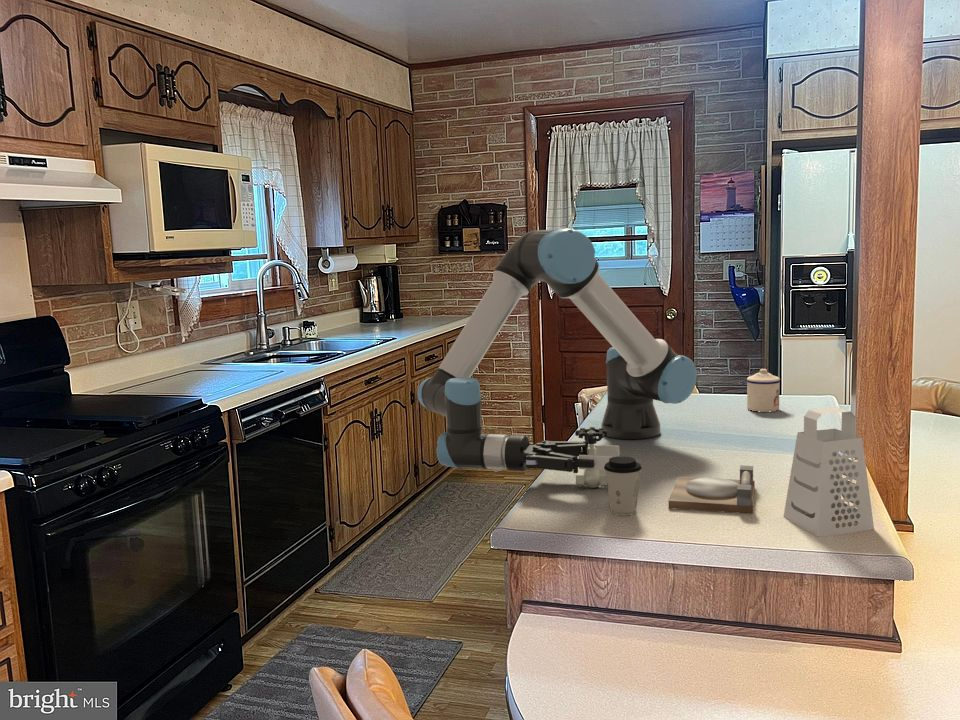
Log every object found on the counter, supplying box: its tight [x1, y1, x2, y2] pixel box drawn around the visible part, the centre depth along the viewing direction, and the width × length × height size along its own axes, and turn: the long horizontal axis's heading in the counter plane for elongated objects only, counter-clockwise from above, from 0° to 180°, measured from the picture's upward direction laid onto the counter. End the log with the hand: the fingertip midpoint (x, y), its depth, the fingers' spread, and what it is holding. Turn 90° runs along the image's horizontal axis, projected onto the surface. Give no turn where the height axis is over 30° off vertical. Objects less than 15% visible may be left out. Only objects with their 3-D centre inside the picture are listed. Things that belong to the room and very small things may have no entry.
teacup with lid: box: [746, 368, 781, 413], centre depth 236 cm, size 12×9×12 cm
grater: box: [783, 407, 875, 537], centre depth 143 cm, size 10×10×20 cm
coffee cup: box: [604, 455, 643, 516], centre depth 154 cm, size 7×7×10 cm
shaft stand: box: [667, 465, 756, 515], centre depth 160 cm, size 16×15×4 cm
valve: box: [574, 426, 608, 489], centre depth 169 cm, size 7×7×12 cm
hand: (615, 457), depth 168 cm, fingers open, 8 cm apart
